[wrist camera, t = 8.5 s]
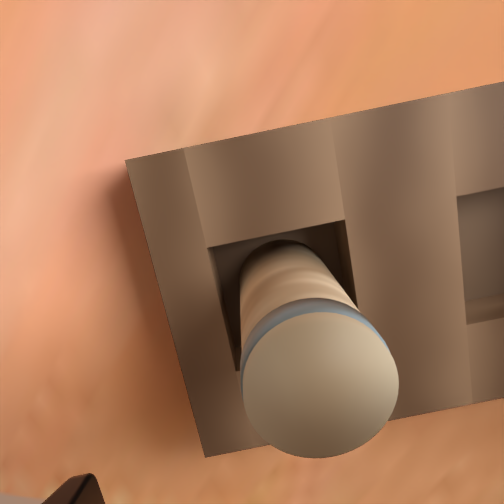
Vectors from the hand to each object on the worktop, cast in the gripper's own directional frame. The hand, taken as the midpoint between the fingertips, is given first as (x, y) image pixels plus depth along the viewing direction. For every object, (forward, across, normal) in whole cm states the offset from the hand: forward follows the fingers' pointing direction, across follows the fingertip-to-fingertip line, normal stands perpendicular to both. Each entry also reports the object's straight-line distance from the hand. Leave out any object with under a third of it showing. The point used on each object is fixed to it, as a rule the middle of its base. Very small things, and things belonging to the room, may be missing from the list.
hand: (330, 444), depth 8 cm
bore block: (+10, -5, 0) cm, 11 cm away
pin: (+10, 0, 0) cm, 10 cm away
